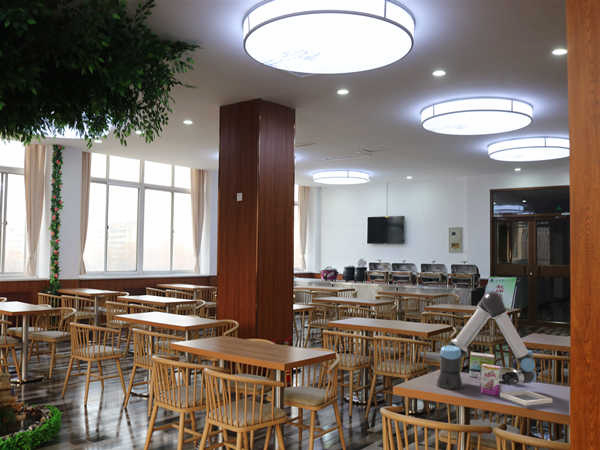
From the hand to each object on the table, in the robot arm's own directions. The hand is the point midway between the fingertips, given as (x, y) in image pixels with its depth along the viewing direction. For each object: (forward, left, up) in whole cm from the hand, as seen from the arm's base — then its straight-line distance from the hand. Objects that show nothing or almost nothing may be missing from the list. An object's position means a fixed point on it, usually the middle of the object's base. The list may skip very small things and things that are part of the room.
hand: (486, 379), depth 308 cm
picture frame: (+18, +12, -9) cm, 23 cm away
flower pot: (-19, +37, -9) cm, 42 cm away
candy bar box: (0, +4, -9) cm, 9 cm away
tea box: (-36, +32, -9) cm, 49 cm away
